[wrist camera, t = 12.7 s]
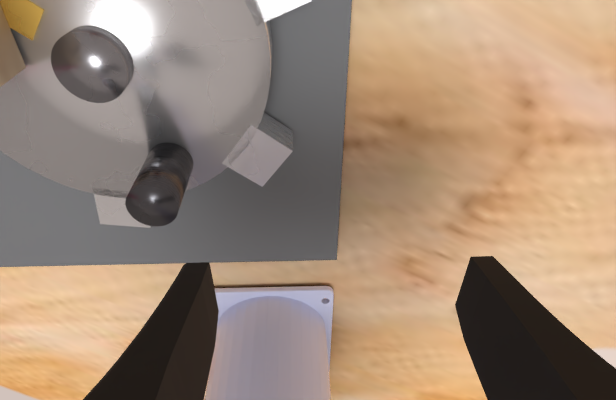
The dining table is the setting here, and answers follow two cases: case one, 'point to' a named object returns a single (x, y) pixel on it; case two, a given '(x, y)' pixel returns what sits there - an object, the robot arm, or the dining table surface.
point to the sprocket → (142, 98)
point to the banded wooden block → (8, 52)
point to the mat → (216, 177)
